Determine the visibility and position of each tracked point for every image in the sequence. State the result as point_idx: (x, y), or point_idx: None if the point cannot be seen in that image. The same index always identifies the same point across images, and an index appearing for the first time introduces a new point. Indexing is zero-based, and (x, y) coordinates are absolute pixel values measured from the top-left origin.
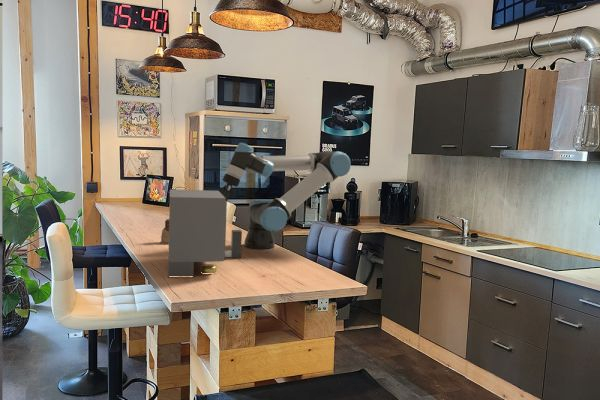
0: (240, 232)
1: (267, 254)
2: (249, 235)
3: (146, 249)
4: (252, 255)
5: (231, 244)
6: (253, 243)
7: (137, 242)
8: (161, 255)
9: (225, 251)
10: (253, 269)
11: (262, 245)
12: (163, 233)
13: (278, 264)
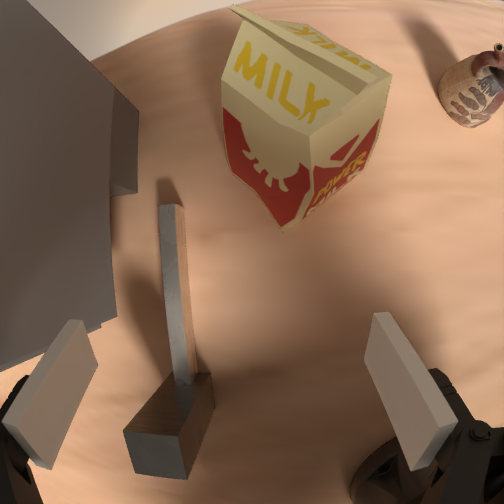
0: (135, 464)
1: (254, 497)
2: (410, 474)
3: (328, 22)
4: (233, 453)
5: (183, 396)
6: (370, 473)
7: (435, 10)
8: (220, 73)
9: (172, 355)
10: None
11: (352, 496)
12: (463, 60)
13: (112, 487)
